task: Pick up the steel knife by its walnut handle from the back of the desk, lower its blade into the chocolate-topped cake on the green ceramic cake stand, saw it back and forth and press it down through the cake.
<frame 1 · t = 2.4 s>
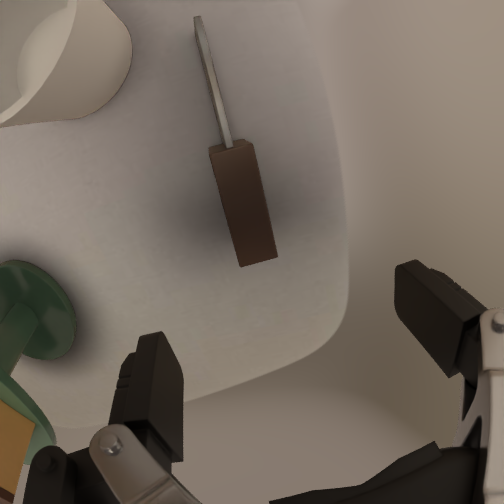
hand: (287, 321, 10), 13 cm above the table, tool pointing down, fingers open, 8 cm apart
cup: (74, 39, 15), on the table
knife: (224, 135, 20), on the table
cake stand: (28, 310, 22), on the table
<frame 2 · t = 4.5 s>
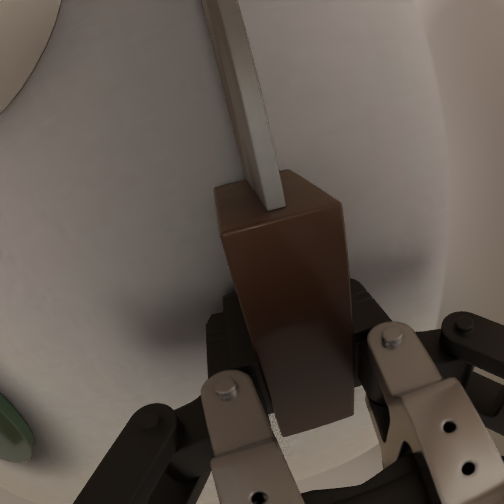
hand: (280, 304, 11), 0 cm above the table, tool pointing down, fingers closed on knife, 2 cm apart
knife: (248, 162, 9), on the table, touching gripper
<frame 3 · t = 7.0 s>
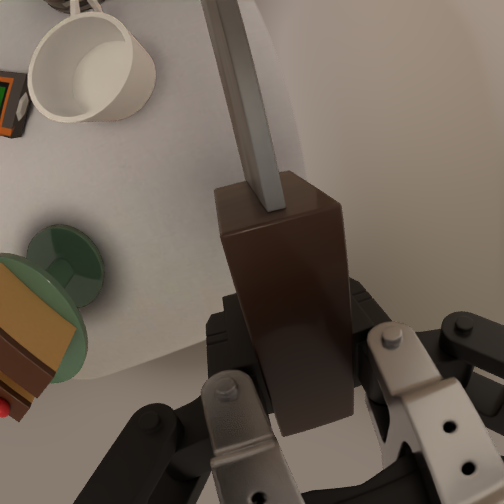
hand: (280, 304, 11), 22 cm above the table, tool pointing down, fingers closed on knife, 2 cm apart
cup: (113, 63, 24), on the table
knife: (248, 163, 9), point 21 cm above the table, touching gripper
cake stand: (65, 266, 31), on the table
cake: (18, 328, 20), resting on cake stand
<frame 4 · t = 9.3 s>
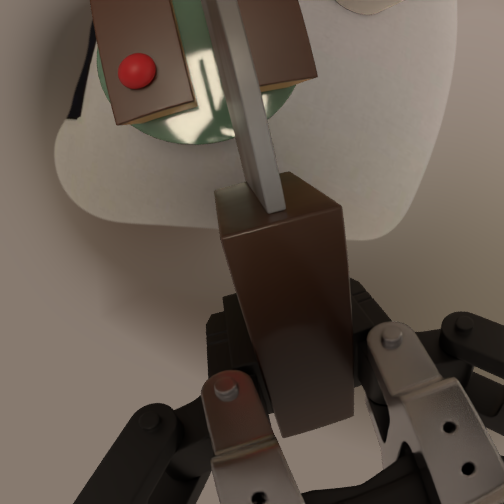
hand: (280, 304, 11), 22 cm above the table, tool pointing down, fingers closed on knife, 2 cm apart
knife: (248, 164, 9), point 22 cm above the table, touching gripper
cake stand: (201, 71, 27), on the table
cake: (199, 43, 16), resting on cake stand
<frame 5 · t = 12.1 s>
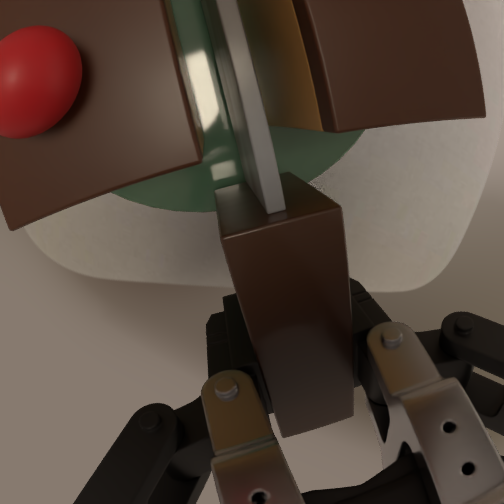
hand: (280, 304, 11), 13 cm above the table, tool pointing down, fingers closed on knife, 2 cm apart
knife: (248, 164, 9), point 13 cm above the table, touching gripper
cake stand: (206, 72, 19), on the table
cake: (207, 19, 8), resting on cake stand
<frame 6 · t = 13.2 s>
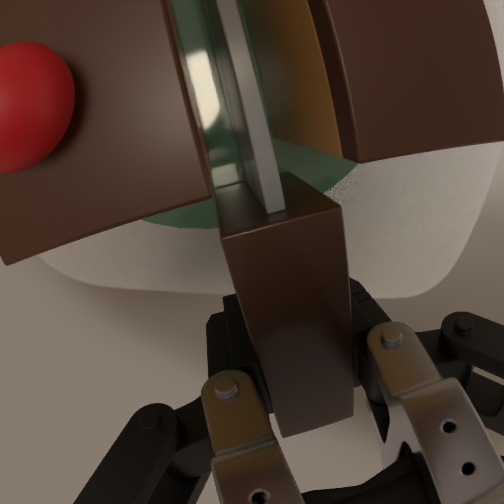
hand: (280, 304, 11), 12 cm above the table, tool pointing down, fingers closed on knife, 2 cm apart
knife: (248, 164, 9), point 12 cm above the table, touching gripper
cake stand: (207, 76, 18), on the table
cake: (211, 24, 7), resting on cake stand
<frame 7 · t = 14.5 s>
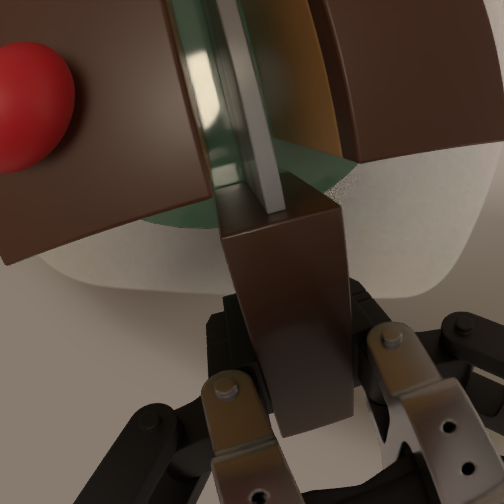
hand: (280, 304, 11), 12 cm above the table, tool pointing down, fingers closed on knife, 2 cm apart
knife: (248, 164, 9), point 12 cm above the table, touching gripper
cake stand: (207, 76, 18), on the table
cake: (211, 24, 7), resting on cake stand
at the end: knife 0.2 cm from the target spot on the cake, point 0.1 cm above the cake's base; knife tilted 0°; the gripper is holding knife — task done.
